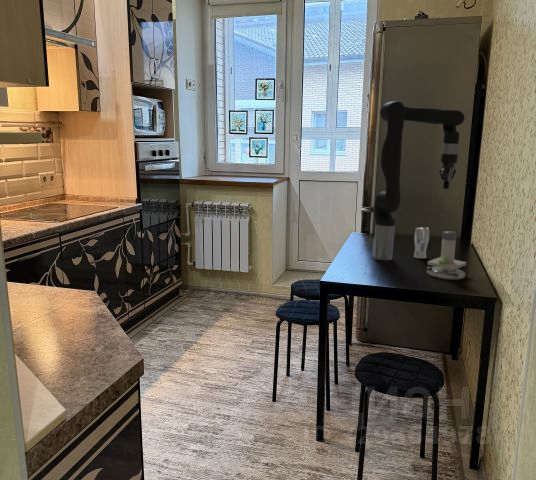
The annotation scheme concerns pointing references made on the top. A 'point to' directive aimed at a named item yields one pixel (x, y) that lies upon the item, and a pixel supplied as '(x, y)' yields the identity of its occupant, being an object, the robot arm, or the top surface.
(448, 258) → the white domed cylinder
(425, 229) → the beer glass
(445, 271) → the base
